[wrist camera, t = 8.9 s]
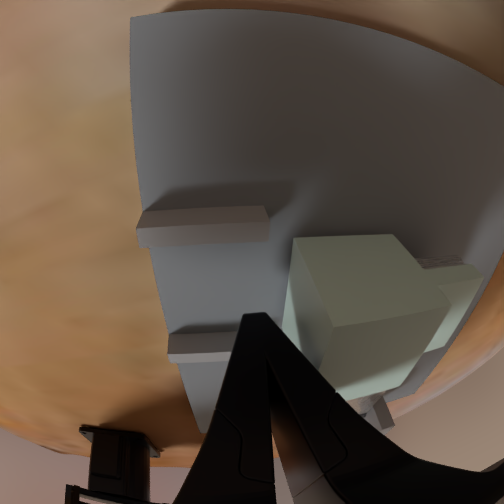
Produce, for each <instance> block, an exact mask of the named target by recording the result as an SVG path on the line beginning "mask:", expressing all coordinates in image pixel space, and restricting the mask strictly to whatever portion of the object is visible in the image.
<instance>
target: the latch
mask: <svg viewBox="0 0 504 504" xmlns="http://www.w3.org/2000/svg"><path fill="white" fill-rule="evenodd" d="M483 279H484V276H483V275H482V274H481V273H480V272H479V271H478V270H477V269H476V268H475V267H474V265H473V264H465V265H457V266H449V267H441V268H433V269H425V270H424V269H423V268H422V267H421V265H420V264H419V263H418V262H417V261H416V260H415V259H414V257H413V256H412V255H411V254H410V253H409V252H408V251H407V249H406V248H405V247H404V246H403V245H402V244H401V243H400V242H399V241H398V239H397V238H396V237H395V236H394V235H393V234H380V235H350V236H323V237H298V238H293V246H292V255H291V263H290V271H289V279H288V286H287V294H286V301H285V308H284V315H283V322H282V330H283V332H284V333H285V334H286V335H287V337H288V338H289V339H290V340H291V341H292V342H293V343H294V344H295V346H296V347H297V348H298V349H299V350H300V351H301V352H302V353H303V355H304V356H305V357H306V358H307V359H308V360H309V361H310V362H311V363H312V365H313V366H314V367H315V368H316V369H317V370H318V371H319V372H320V373H321V374H322V376H323V377H324V378H325V379H326V380H327V381H328V382H329V383H330V384H331V385H332V387H333V388H334V389H335V390H336V392H338V393H339V394H340V395H341V396H342V397H343V398H344V399H345V401H347V400H351V399H356V398H360V397H364V396H367V395H371V394H375V393H378V392H382V391H386V390H389V389H392V388H396V387H399V386H400V385H401V384H402V382H403V381H404V380H405V378H406V377H407V376H408V374H409V373H410V371H411V370H412V369H413V367H414V366H415V364H416V363H417V361H418V360H419V358H420V357H421V356H422V354H423V353H425V352H428V351H431V350H434V349H437V348H440V347H443V346H445V344H446V343H447V341H448V340H449V338H450V337H451V335H452V333H453V332H454V330H455V329H456V327H457V326H458V324H459V322H460V321H461V319H462V317H463V316H464V314H465V312H466V310H467V309H468V307H469V305H470V303H471V302H472V300H473V298H474V296H475V294H476V293H477V291H478V289H479V287H480V285H481V283H482V281H483Z"/></svg>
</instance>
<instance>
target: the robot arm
mask: <svg viewBox="0 0 504 504" xmlns="http://www.w3.org/2000/svg"><path fill="white" fill-rule="evenodd" d="M79 432H80V433H81V434H82V435H83V436H84V437H85V438H87V439H88V440H89V441H90V442H91V443H92V446H91V455H90V465H89V478H88V490H87V489H84V488H80V486H76V485H74V486H72V485H68V484H66V492H65V504H89V503H85V502H81V501H79V497H82V498H86V499H90V500H93V501H98V502H102V503H106V504H160V503H152V502H150V457H154V458H159V457H160V452H159V451H158V450H157V449H156V448H155V447H154V446H153V444H152V443H151V442H150V441H149V440H148V438H147V437H146V436H145V435H143V434H139V433H127V432H116V431H107V430H99V429H91V428H85V427H79ZM272 434H273V437H274V440H275V444H276V447H277V450H278V454H279V457H280V460H281V463H282V467H283V470H284V473H285V476H286V479H287V482H288V486H289V489H290V492H291V495H292V497H293V501H294V504H504V458H503V459H502V460H500V461H498V462H496V463H495V464H493V465H491V466H490V467H488V468H486V469H484V470H482V471H481V472H474V471H468V470H464V469H459V468H454V467H450V466H445V465H441V464H437V463H433V462H429V461H425V460H422V459H419V458H417V457H414V456H412V455H410V454H409V453H407V452H405V451H404V450H403V449H401V448H400V447H399V446H397V445H396V444H395V443H393V442H392V441H391V440H390V439H388V438H387V437H386V436H385V435H383V434H382V433H381V432H380V431H378V430H377V429H376V428H375V427H374V426H372V425H371V424H370V423H369V422H368V421H366V420H365V419H364V418H363V417H362V416H361V415H360V414H358V413H357V412H356V411H355V410H354V409H353V408H352V407H351V406H350V405H349V404H348V403H347V402H346V401H345V399H344V398H343V397H342V396H341V395H340V394H339V393H338V392H336V390H335V389H334V388H333V387H332V385H331V384H330V383H329V382H328V381H327V380H326V379H325V378H324V377H323V376H322V374H321V373H320V372H319V371H318V370H317V369H316V368H315V367H314V366H313V365H312V363H311V362H310V361H309V360H308V359H307V358H306V357H305V356H304V355H303V353H302V352H301V351H300V350H299V349H298V348H297V347H296V346H295V344H294V343H293V342H292V341H291V340H290V339H289V338H288V337H287V335H286V334H285V333H284V332H283V331H282V330H281V329H280V328H279V326H278V325H277V324H276V323H275V322H274V321H273V320H272V318H271V317H270V316H269V315H268V314H267V313H266V312H255V313H244V314H243V315H242V317H241V321H240V324H239V328H238V331H237V335H236V338H235V341H234V345H233V348H232V352H231V355H230V359H229V362H228V365H227V369H226V372H225V376H224V379H223V382H222V386H221V389H220V392H219V396H218V399H217V403H216V406H215V410H214V412H213V415H212V419H211V422H210V425H209V428H208V431H207V434H206V436H205V439H204V441H203V444H202V446H201V448H200V451H199V453H198V455H197V457H196V459H195V461H194V463H193V465H192V467H191V469H190V471H189V473H188V475H187V477H186V479H185V481H184V483H183V485H182V487H181V489H180V491H179V493H178V495H177V497H176V498H175V500H174V502H173V503H172V504H277V503H276V493H275V485H274V483H275V478H274V462H273V445H272ZM162 504H167V503H162Z"/></svg>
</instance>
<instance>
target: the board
mask: <svg viewBox="0 0 504 504" xmlns="http://www.w3.org/2000/svg"><path fill="white" fill-rule="evenodd" d="M130 87H131V107H132V122H133V134H134V145H135V155H136V164H137V173H138V181H139V188H140V195H141V202H142V209H143V213H142V215H141V217H140V220H139V222H138V224H137V227H136V232H137V237H138V242H139V247H140V248H149V249H150V254H151V260H152V264H153V269H154V274H155V279H156V283H157V288H158V292H159V297H160V301H161V305H162V309H163V313H164V317H165V321H166V325H167V329H168V333H169V339H168V352H167V355H168V358H169V361H170V363H177V365H178V368H179V371H180V375H181V378H182V381H183V384H184V387H185V390H186V393H187V396H188V399H189V402H190V405H191V408H192V411H193V414H194V417H195V420H196V423H197V425H198V428H199V431H200V433H207V431H208V428H209V425H210V422H211V419H212V415H213V412H214V410H215V406H216V403H217V399H218V396H219V392H220V389H221V386H222V382H223V379H224V376H225V372H226V369H227V365H228V362H229V359H230V355H231V352H232V348H233V345H234V341H235V338H236V335H237V331H238V328H239V324H240V321H241V317H242V315H243V314H244V313H255V312H266V313H267V314H268V315H269V316H270V317H271V318H272V320H273V321H274V322H275V323H276V324H277V325H278V326H279V328H280V329H281V330H282V322H283V315H284V308H285V301H286V294H287V286H288V279H289V271H290V263H291V255H292V246H293V238H298V237H323V236H350V235H380V234H393V235H394V236H395V237H396V238H397V239H398V241H399V242H400V243H401V244H402V245H403V246H404V247H405V248H406V249H407V251H408V252H409V253H410V254H411V255H412V256H413V257H414V259H416V258H427V257H438V256H449V255H458V256H459V257H460V258H461V260H462V261H463V262H464V263H465V264H473V265H474V267H475V268H476V269H477V270H478V271H479V272H480V273H481V274H482V275H483V276H484V279H483V281H482V283H481V285H480V287H479V289H478V291H477V293H476V294H475V296H474V298H473V300H472V302H471V303H470V305H469V307H468V309H467V310H466V312H465V314H464V316H463V317H462V319H461V321H460V322H459V324H458V326H457V327H456V329H455V330H454V332H453V333H452V335H451V337H450V338H449V340H448V341H447V343H446V344H445V346H443V347H440V348H437V349H434V350H431V351H428V352H425V353H423V354H422V356H421V357H420V358H419V360H418V361H417V363H416V364H415V366H414V367H413V369H412V370H411V371H410V373H409V374H408V376H407V377H406V378H405V380H404V381H403V382H402V384H401V385H400V386H399V387H396V388H392V389H389V390H386V391H385V393H384V394H383V395H382V396H381V397H380V398H379V400H378V401H377V402H376V403H375V404H374V405H373V406H372V407H371V408H370V410H369V411H368V412H367V415H366V417H365V418H364V419H365V420H366V421H368V422H369V423H370V424H371V425H372V426H374V427H375V428H376V429H377V430H378V431H380V432H381V433H382V434H383V435H385V434H387V433H388V432H389V431H390V430H391V429H392V428H393V427H394V426H395V424H394V422H393V419H392V417H391V414H390V412H389V409H388V407H387V405H386V403H387V402H390V401H394V400H397V399H400V398H403V397H406V396H409V395H411V394H414V393H415V392H416V391H417V390H418V388H419V387H420V386H421V385H422V383H423V382H424V381H425V380H426V378H427V377H428V376H429V375H430V373H431V372H432V371H433V369H434V368H435V367H436V365H437V364H438V363H439V361H440V360H441V359H442V357H443V356H444V355H445V353H446V352H447V350H448V349H449V347H450V346H451V345H452V343H453V342H454V340H455V339H456V337H457V336H458V334H459V333H460V331H461V329H462V328H463V326H464V325H465V323H466V321H467V320H468V318H469V317H470V315H471V313H472V312H473V310H474V308H475V306H476V305H477V303H478V301H479V299H480V298H481V296H482V294H483V292H484V290H485V288H486V286H487V285H488V283H489V281H490V279H491V277H492V275H493V273H494V271H495V269H496V266H497V264H498V262H499V260H500V258H501V256H502V253H503V251H504V86H502V85H500V84H499V83H497V82H496V81H494V80H492V79H490V78H489V77H487V76H485V75H483V74H482V73H480V72H478V71H476V70H474V69H472V68H470V67H468V66H467V65H465V64H463V63H461V62H458V61H456V60H454V59H452V58H450V57H448V56H446V55H443V54H441V53H439V52H437V51H434V50H432V49H429V48H427V47H424V46H422V45H419V44H417V43H414V42H411V41H409V40H406V39H403V38H400V37H397V36H394V35H391V34H388V33H385V32H381V31H378V30H374V29H371V28H367V27H363V26H359V25H355V24H351V23H347V22H342V21H338V20H333V19H328V18H322V17H317V16H310V15H304V14H296V13H288V12H279V11H267V10H250V9H202V10H186V11H174V12H165V13H157V14H149V15H143V16H137V17H131V18H130ZM282 331H283V330H282Z"/></svg>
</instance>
